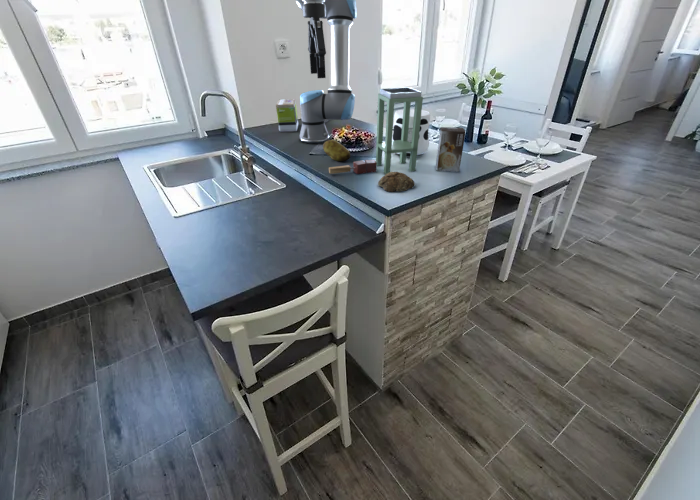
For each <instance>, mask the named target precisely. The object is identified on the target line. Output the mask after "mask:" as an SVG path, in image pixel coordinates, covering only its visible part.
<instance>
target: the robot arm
mask: <svg viewBox="0 0 700 500" xmlns="http://www.w3.org/2000/svg"><path fill="white" fill-rule="evenodd" d="M295 2H296V4H297V6H298V7H299V9H300V10H301V11H302V17H303V18H304V19H309V20H308V21H307V31H308V32H307V47H308V48H307V51H308V53H309V68H310V75H315V74H316V75H317V79H326V78H327V77H326V57H325V56H326V55H327V51H326V49H327V48H326V44H325V43H326V42H325V33H324V22H323V19H325V20H326V19H327V21H326V22H327V24H328V25H329V27H330V86H329V87H328V88H327V93H324V90H323V89H314V90H309V91H305V92H303V93H301V94H299V95H300V96H299V106H300V118H301V127H300V132H299V141H300V142H301V143H304V144H307V145H308V144H309V145H310V144H311V145H317V144H324V143H325V142H326V141H327V140H330V135H329V131H328V128H327V126H326V123H328V122H329V121H330V120H333V121H334V120H336V121H338V120H339V121H343V120H345V121H347V120H350V119H351V118H352V117H353V113H354V109H355V103H356V101H355V100H356V99H355V98H356V95H355V94H354V93H352V92H353V90H352V89H351V87H350V85H349V81H350V29H351V27H352V25H354V20H355V19H357V17H358V15H357V13H358V10H357V8H358V7H357V0H295Z"/></svg>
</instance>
